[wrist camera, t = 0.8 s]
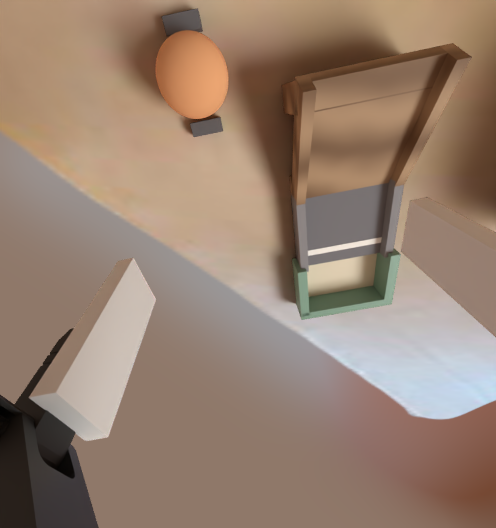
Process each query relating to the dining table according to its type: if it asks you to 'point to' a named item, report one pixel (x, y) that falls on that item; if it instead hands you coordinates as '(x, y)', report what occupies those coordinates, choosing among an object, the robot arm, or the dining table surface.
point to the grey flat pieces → (193, 22)
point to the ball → (191, 74)
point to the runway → (346, 224)
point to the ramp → (367, 119)
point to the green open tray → (345, 284)
